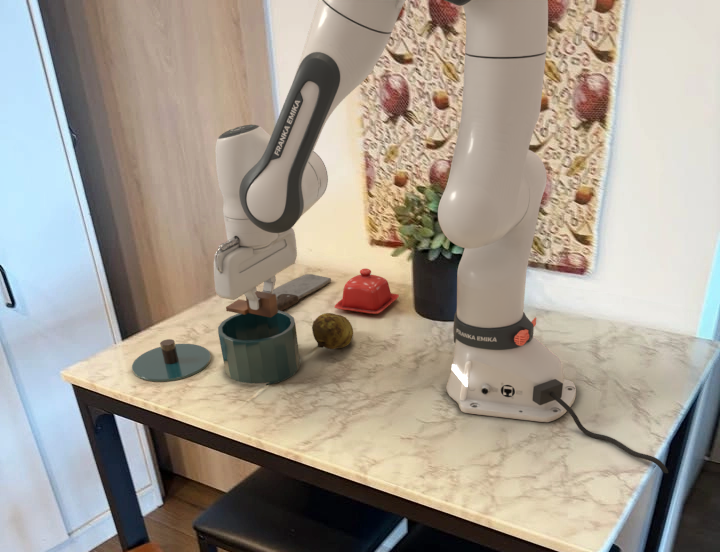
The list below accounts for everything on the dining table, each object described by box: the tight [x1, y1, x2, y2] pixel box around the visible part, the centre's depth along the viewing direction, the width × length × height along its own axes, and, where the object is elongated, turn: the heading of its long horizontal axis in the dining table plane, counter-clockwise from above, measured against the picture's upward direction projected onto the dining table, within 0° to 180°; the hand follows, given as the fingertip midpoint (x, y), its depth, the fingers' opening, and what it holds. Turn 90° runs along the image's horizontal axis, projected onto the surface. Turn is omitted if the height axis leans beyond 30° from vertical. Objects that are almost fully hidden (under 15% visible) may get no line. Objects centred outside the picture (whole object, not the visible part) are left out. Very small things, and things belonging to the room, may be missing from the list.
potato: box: [311, 312, 354, 350], centre depth 150 cm, size 8×13×8 cm, turn 149°
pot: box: [217, 310, 301, 386], centre depth 144 cm, size 14×15×9 cm
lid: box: [131, 338, 212, 383], centre depth 148 cm, size 15×15×5 cm
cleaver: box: [273, 273, 332, 311], centre depth 173 cm, size 30×10×2 cm, turn 147°
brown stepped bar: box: [225, 290, 278, 317], centre depth 139 cm, size 10×4×4 cm, turn 60°
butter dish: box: [334, 268, 400, 315], centre depth 165 cm, size 12×12×8 cm
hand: (262, 304), depth 138 cm, fingers closed on brown stepped bar, 2 cm apart
